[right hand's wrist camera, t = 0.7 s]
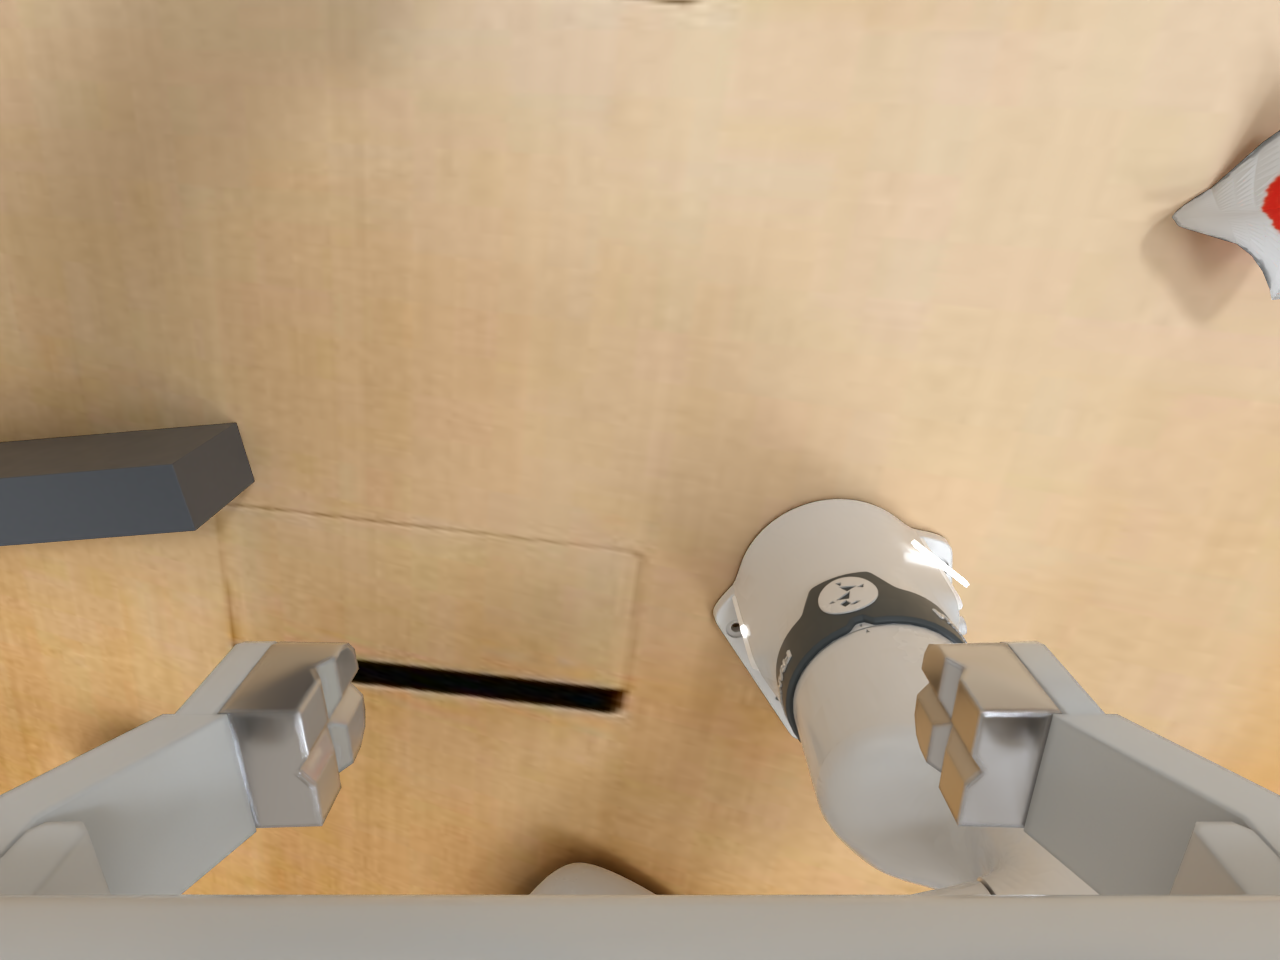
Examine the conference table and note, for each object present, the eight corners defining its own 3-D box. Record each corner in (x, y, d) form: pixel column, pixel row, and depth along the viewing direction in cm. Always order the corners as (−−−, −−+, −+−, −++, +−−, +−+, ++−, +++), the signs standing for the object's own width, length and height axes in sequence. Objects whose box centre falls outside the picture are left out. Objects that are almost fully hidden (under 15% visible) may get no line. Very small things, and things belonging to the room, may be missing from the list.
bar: (236, 422, 54) (171, 464, 46) (255, 481, 55) (195, 530, 48) (-101, 450, 54) (-218, 496, 47) (-72, 507, 56) (-180, 560, 49)
